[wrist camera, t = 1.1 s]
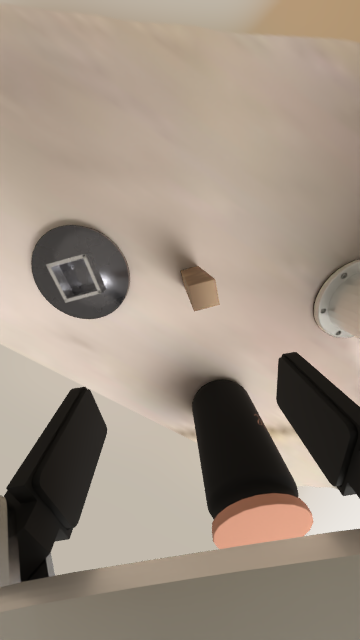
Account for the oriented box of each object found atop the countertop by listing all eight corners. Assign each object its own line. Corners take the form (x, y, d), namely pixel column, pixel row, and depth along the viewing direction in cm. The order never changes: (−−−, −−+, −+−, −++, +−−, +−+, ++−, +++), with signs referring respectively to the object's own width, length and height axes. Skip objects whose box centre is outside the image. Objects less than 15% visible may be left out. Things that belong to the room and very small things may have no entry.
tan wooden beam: (197, 265, 26) (215, 279, 17) (201, 283, 27) (219, 304, 18) (180, 270, 26) (188, 286, 17) (184, 287, 27) (194, 311, 18)
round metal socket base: (110, 214, 23) (102, 210, 20) (141, 304, 28) (138, 311, 25) (18, 240, 24) (-3, 240, 21) (64, 324, 28) (52, 334, 25)
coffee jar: (239, 419, 39) (293, 553, 22) (187, 418, 38) (205, 558, 21) (252, 378, 35) (331, 502, 18) (195, 375, 34) (224, 505, 17)
